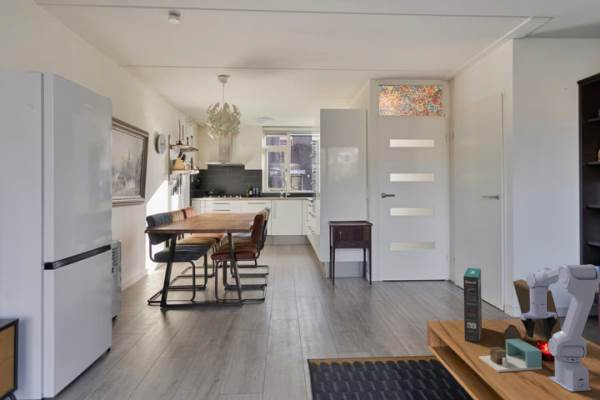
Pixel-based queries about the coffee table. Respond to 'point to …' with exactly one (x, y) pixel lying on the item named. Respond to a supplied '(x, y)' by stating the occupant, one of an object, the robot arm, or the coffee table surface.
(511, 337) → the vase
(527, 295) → the photo frame
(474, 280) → the cake mix box
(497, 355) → the block
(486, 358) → the base plate
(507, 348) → the cover
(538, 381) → the coffee table surface
